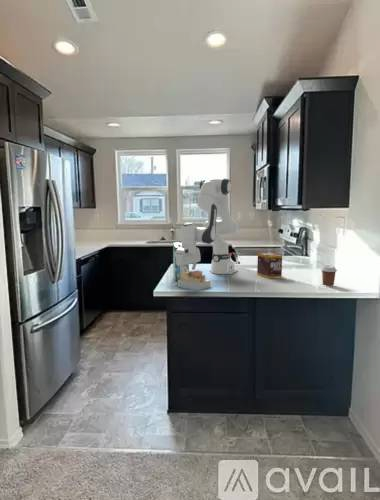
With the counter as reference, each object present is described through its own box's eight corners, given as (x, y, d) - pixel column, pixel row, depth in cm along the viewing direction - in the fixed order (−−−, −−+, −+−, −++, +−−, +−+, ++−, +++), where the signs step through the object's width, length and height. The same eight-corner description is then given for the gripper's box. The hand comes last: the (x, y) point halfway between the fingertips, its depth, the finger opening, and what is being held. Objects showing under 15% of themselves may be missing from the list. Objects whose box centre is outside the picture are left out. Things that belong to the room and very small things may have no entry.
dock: (190, 283, 228) (190, 276, 227) (210, 286, 218) (210, 280, 217) (177, 286, 218) (177, 280, 217) (198, 290, 208) (198, 284, 207)
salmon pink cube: (197, 276, 218) (197, 270, 218) (202, 277, 216) (202, 271, 215) (193, 277, 215) (193, 271, 215) (198, 278, 213) (198, 272, 212)
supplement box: (269, 278, 240) (269, 256, 237) (256, 274, 254) (257, 253, 252) (282, 277, 243) (282, 255, 241) (269, 273, 258) (269, 252, 255)
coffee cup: (338, 285, 219) (339, 266, 217) (331, 288, 213) (332, 268, 211) (324, 283, 226) (325, 264, 224) (317, 285, 219) (318, 266, 218)
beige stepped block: (186, 277, 225) (186, 270, 224) (205, 280, 216) (205, 272, 215) (180, 279, 220) (179, 271, 219) (199, 282, 211) (199, 274, 210)
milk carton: (175, 281, 232) (175, 243, 228) (173, 278, 241) (173, 242, 237) (188, 280, 234) (188, 243, 230) (186, 278, 242) (186, 242, 239)
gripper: (195, 246, 227) (195, 267, 229) (173, 250, 212) (174, 272, 214) (202, 247, 223) (202, 268, 225) (181, 251, 208) (182, 274, 210)
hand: (188, 270), depth 219 cm, fingers open, 8 cm apart
